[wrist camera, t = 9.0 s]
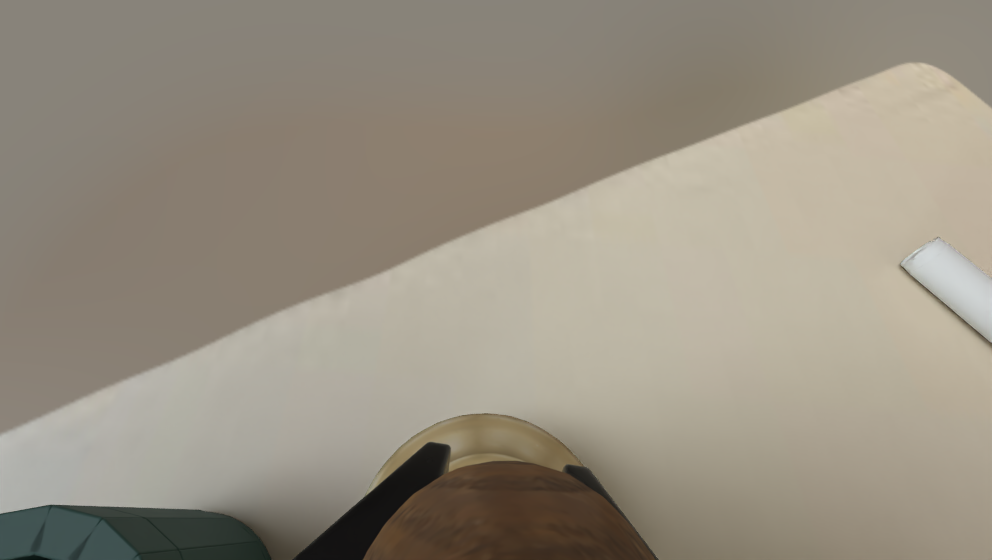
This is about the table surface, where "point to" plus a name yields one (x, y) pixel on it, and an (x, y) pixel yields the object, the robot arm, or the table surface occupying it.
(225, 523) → the jar
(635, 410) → the table surface
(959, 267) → the white cylindrical rod
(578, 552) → the hand bell
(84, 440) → the table surface
